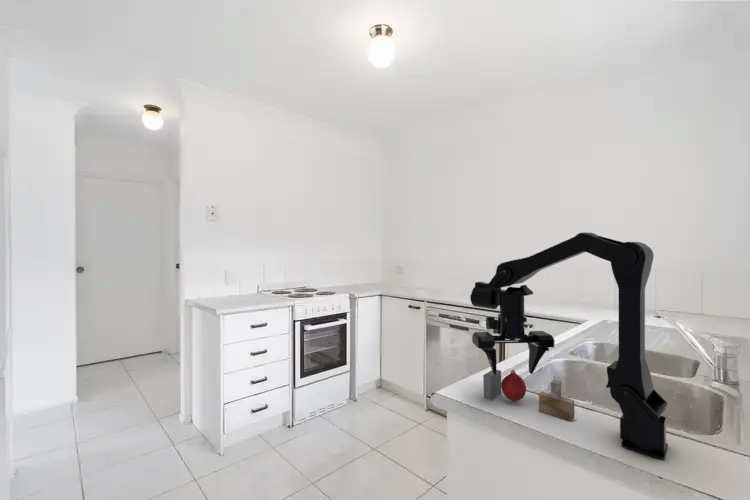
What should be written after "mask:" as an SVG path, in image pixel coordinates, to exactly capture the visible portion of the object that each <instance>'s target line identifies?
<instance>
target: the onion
mask: <svg viewBox="0 0 750 500" xmlns="http://www.w3.org/2000/svg"><path fill="white" fill-rule="evenodd" d="M526 392H527V386H526V383H525V380H523V378H522V377H521V376H520V375H519V374H517V372H516V370H514V369H512V370H511V371H510V373H509V374H508V375H505V376H504V378H503V379H501V393H503V395H504V396H505V397H506V399H508V400H509V401H510V402H512V403H517V402H518V401H520V400H522V399H523V398H524V397H525V395H526Z"/></svg>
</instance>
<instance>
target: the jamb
mask: <svg viewBox="0 0 750 500" xmlns="http://www.w3.org/2000/svg"><path fill="white" fill-rule="evenodd" d="M482 376H483V379H482V380H483V383H482V384H483V399H485V400H488V401H493V400H494V399H496V397H498V396H499V395H501V394H502V387H501V383H502V370H500V369H496V374H493V372H492V369H491V370H490V371H488V372H486V373H484V374H483V375H482Z"/></svg>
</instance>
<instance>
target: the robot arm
mask: <svg viewBox="0 0 750 500" xmlns="http://www.w3.org/2000/svg"><path fill="white" fill-rule="evenodd" d="M584 253H588V254H590V255H592V256H595V257H597V258H599V259H601V260H605V261H607V262H610V266H611V271H612V275H613V277H614V280H615V283H616V285H617V289H618V358H617V360H615V361H613V362H612V363H610V364H609V365H607V367H606V374H607V384H606V386H605V387H606V388H607V389H609V393H610V396H611V397H612V399H613V400H614V401H615V403H617V404H618V405H619V408H620V410H621V413H622V415H620V419H619V429H620V430H619V438H620V439H621V440H622V442H621V444H620V445H621V447H623V448H624V449H625V448H626V449H629V450H632V451H634V452H638V453H641V454H644V455H647V456H650V457H653V458H656V459H660V460H665V459H666V456H667V455H666V454H667V450H668V447H669V444H668V443H667V417H666V416H663V413H664V412H665V411H666V408H667V407H668V404H669V403H668V402H667V400H666V399H665V398H663V397H662V396H661V394H660V393H658V391H656V390H655V388H654V385H653V379H652V374H651V370H650V368H649V365H648V363H647V361H646V354H645V353H646V332H645V331H646V328H645V327H646V312H645V311H646V295H645V294H646V292H645V291H646V285H647V283H648V280H649V277H650V274H651V271H652V266H653V261H654V251H653V250H652V248H651V247H650V246H648V245H647V244H646V243H643V242H640V241H625V242H623V241H619V240H617V239H612V238H608V237H605V236H602V235H598V234H596V233H593V232H588V231H587V232H584V231H583V232H579V233H577V234H576V235H574V236H573V237H571V238H568V239H566V240H564V241H561V242H560V243H557V244H555V245H553V246H550V247H548V248H545V249H543V250H541V251H538V252H537V253H534V254H532V255H530V256H526V257H523V258H522V257H521V258H516V259H512V260H508V261H504V262H501V263H499V264H497V266H496V270H495V274H494V276H493V277H492V279H491V280H490V281H489V282H485V281H476V282H475V283H474V287H473V288H472V289H471V290H472V291H471V293H470V295H469V296H470V297H469V298H470V302H471V304H472V306H473V307H477V308H483V309H491V310H497V308H498V307H499V313H498V315H497V319H495V317H494V316H486V317H485V328H486V330H492V332H493V334H497V335H492V334H491V333H490V332H488V331H474V332H473V334H472V335H471V339H472V344H474V346H475V347H477V348H478V349H480V350H481V351H482V352H484V353H485V355H486V357H487V360H488V364H489V365H490V369H491V370H492V372H493V374H496V370H497V349H496V348H494V347H495V346H496V344H527V347H528V351H529V352H528V372H529V373H530V375H532V374H534V371H535V370H536V368H537V366H538V364H539V362H540V360H541V359H542V357H543V356H544V355H545V353H546V352H549V351H550V348H555V344H556V343H555V338H554V336H553V335H551V334H550V333H548V332H546V331H544V330H530V331H529V332H528V334H526V332H525V323H527V322H528V321H527V319H528V318H527V317H525V296H530V295H534V292H533V291H532V289H530V288H529V287H528V285H527V284H523V283H524V282H526V281H528V280H529V279H530V278H533V277H534V276H535V275H536V274H537V273H539V272H541V271H542V270H545V269H547V268H550V267H552V266H554V265H557V264H559V263H562V262H564V261H567V260H570V259H572V258H575V257H577V256H580V255H581V254H584ZM517 284H523V285H520V286H519V287H516V286H512V285H517ZM506 287H507V288H506ZM502 288H506V289H502Z"/></svg>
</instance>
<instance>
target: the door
mask: <svg viewBox="0 0 750 500" xmlns="http://www.w3.org/2000/svg"><path fill="white" fill-rule="evenodd" d="M538 412H542V413H544V414H547V415H551V416H554V417H557V418H560V419H564V420H566V421H567V420H568V421H570V422H572V421H573V420H575V400H574V399H571V398H567V397H564V396H562V381H561V380H560V381H559V380H557V379H553V380H552V381H551V383H550V393H549V392H545V391H540V392H539V393H538Z"/></svg>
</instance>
